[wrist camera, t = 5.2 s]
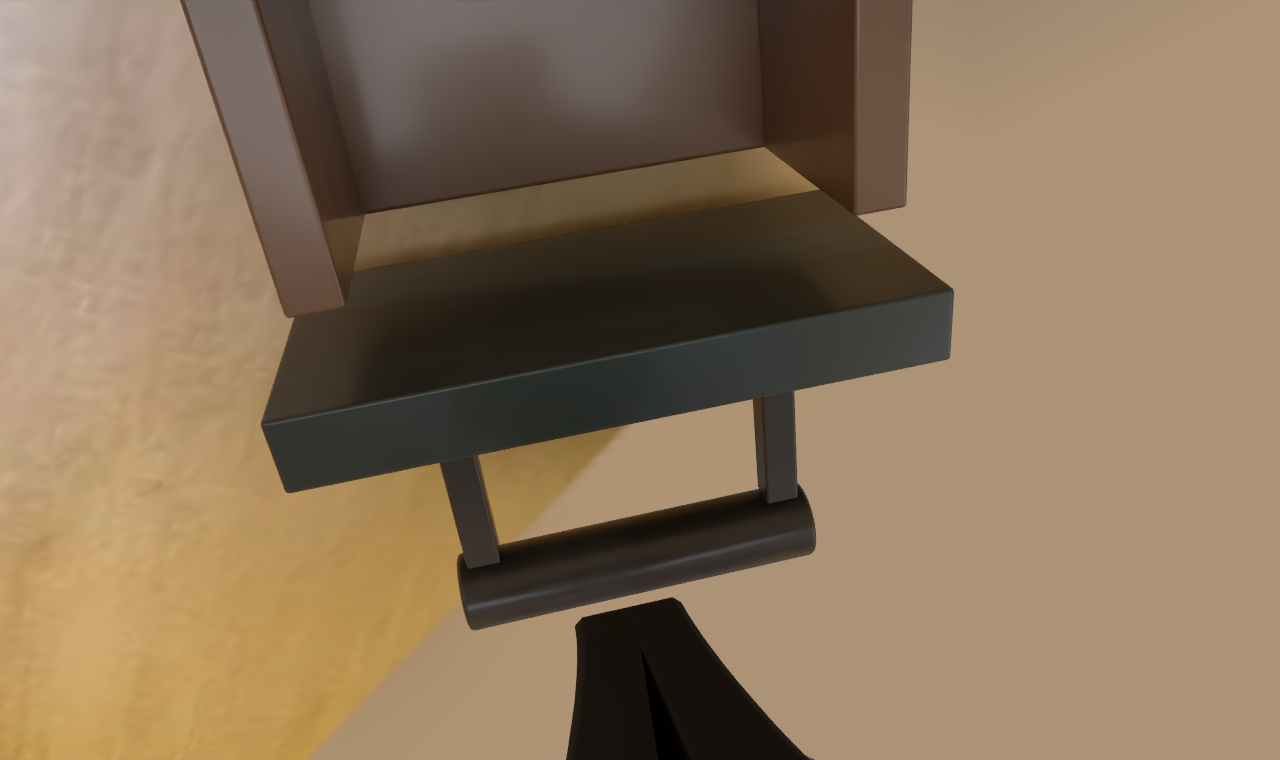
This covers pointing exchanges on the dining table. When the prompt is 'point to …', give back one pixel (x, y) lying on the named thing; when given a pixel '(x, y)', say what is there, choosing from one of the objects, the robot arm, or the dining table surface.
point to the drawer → (571, 250)
